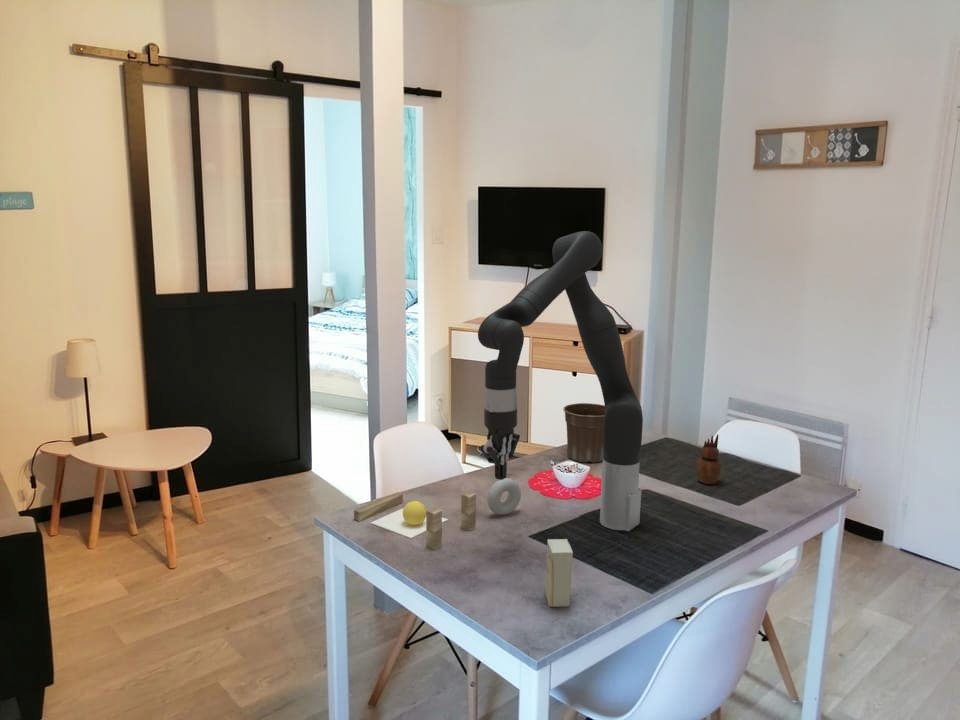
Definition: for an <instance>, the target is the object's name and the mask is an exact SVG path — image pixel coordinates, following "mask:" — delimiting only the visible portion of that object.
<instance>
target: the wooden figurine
mask: <svg viewBox="0 0 960 720" xmlns="http://www.w3.org/2000/svg"><path fill="white" fill-rule="evenodd" d="M718 444H719V434H716V437H715V440H714V435H711V437H710V438H707V441H706V440H704V443H703V446H702V448H700V455H701V457H699V459H697V462H696V471H695V472H696V477H697V479H698V481H699V482H700V483H703V484H705V485H714V484H716V483H717V482H718V481H719V478H720V475H721V470H722V464H721V462H720V460H719V459H718V457H719V454H720V452H719V451H720V450H719V448H718Z"/></svg>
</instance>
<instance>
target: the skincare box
mask: <svg viewBox="0 0 960 720" xmlns="http://www.w3.org/2000/svg"><path fill="white" fill-rule="evenodd" d="M546 544H547V545H546V547H547V548H546V559H545V560H546V561H545V563H546V565H545V576H544V577H545V579H544V580H545V582H544V593H545V598H546V601H547V603H548V607H550V608H553V607H561V608H562V607H570V602H571V589H572V588H571V587H572V572H573V556H574V554H573V553H574V552H573V549H572V546H571V544H570V542H569V541H568V538H562V539H561V538H548V539H547V542H546Z"/></svg>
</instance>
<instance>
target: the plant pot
mask: <svg viewBox="0 0 960 720" xmlns="http://www.w3.org/2000/svg"><path fill="white" fill-rule="evenodd" d="M563 412H564V420H565V423H566V440H567V441H566V442H567V456H568V458H569V459H570V460H573V461H574V462H577V463H579V462H580V463H586V464H587V463H588V462H591V463H592V464H594V463H600V462H603V442H604V419H605V404H599V403H587V402H585V403H584V402H582V403H581V402H580V403H571V404H570V403H569V404H567V405H565V406H564V407H563Z"/></svg>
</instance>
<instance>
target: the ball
mask: <svg viewBox="0 0 960 720" xmlns="http://www.w3.org/2000/svg"><path fill="white" fill-rule="evenodd" d="M403 508H404V509H403V518H404V520H405V521H406V522H407V523H408V524H410V525H419V524H421V523H422V522H423V521H424V520H425V518H426V511H427V509H426V506H425V505H424V504H423V503H422V502H420V501H418V500H417V501H416V500H414V501H413V500H412V501H409V502H408V503H406V504H405V505H404V507H403Z"/></svg>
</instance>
